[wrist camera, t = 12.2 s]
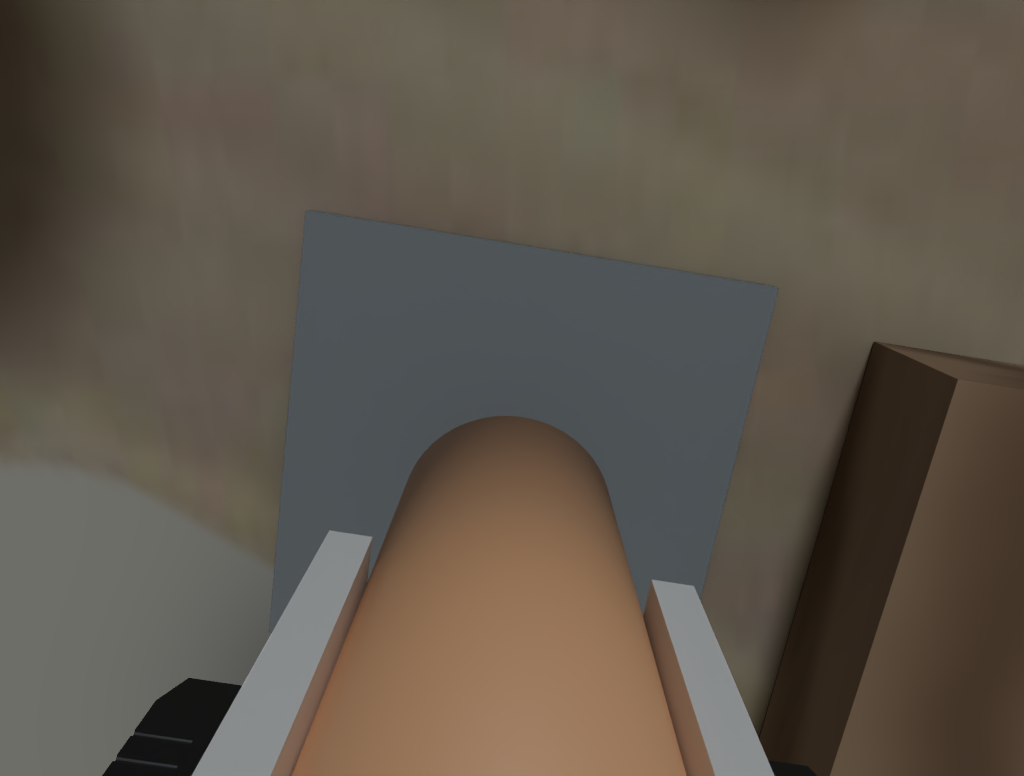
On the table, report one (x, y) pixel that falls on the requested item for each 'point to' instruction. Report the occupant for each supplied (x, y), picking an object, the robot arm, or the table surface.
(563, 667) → the peg
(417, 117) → the table surface
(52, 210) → the table surface
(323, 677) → the robot arm
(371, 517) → the mat
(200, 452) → the table surface
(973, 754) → the pocket block
